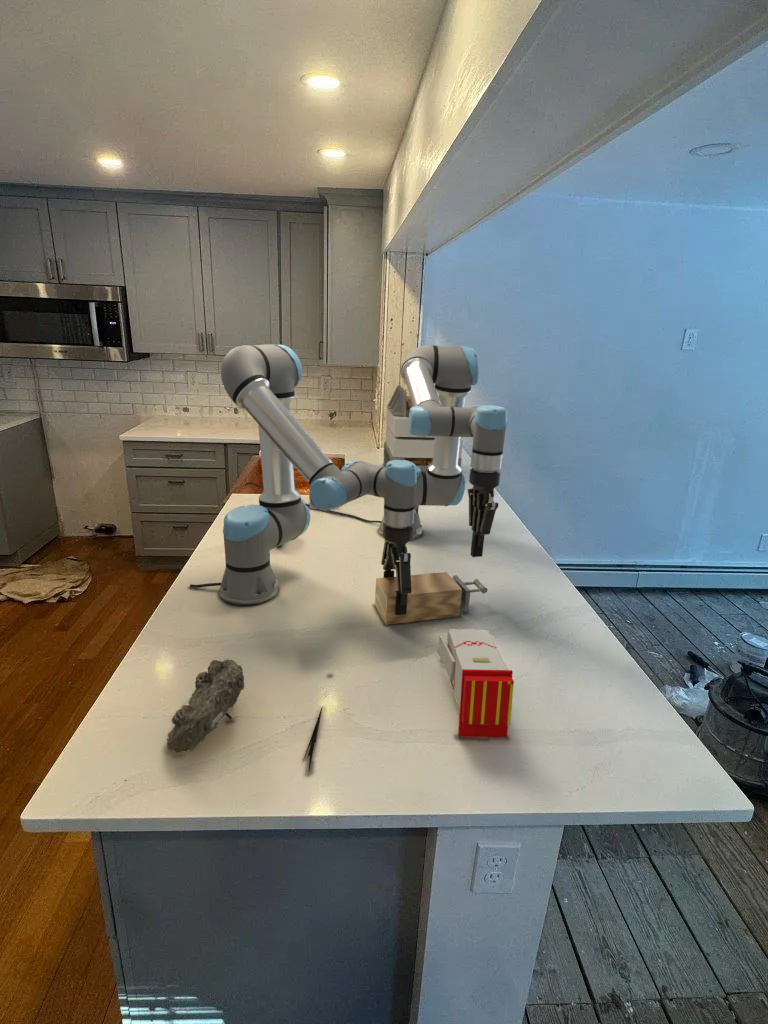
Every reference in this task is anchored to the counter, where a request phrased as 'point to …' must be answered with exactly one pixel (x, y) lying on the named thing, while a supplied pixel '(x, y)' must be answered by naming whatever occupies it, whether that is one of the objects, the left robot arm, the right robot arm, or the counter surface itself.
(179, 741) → the fossil
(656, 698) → the counter surface
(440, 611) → the wooden block
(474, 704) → the toy
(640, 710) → the counter surface
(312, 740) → the feather
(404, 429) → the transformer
